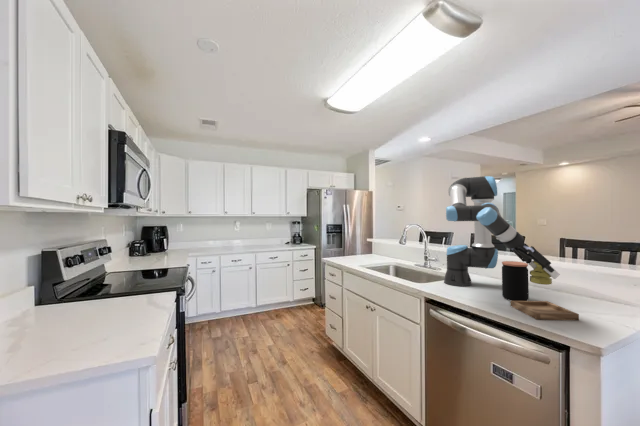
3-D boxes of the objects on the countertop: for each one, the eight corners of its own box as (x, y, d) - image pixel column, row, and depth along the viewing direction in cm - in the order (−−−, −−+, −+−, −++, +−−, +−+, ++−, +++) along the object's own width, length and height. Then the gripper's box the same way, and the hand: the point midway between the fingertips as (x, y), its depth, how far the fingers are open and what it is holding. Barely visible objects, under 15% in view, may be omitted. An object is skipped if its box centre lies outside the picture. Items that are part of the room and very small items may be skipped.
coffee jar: (519, 295, 137) (519, 261, 138) (534, 302, 127) (533, 264, 127) (497, 295, 138) (497, 261, 139) (510, 302, 128) (509, 264, 128)
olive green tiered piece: (529, 279, 119) (529, 257, 119) (551, 282, 114) (551, 259, 114) (529, 283, 113) (529, 259, 113) (552, 285, 109) (552, 261, 109)
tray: (510, 306, 122) (510, 300, 122) (547, 306, 121) (547, 301, 121) (536, 319, 106) (536, 313, 106) (578, 320, 105) (578, 314, 105)
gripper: (489, 240, 125) (526, 275, 124) (518, 245, 105) (562, 286, 104) (501, 229, 125) (538, 264, 123) (532, 232, 105) (576, 273, 103)
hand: (549, 274), depth 114 cm, fingers closed on olive green tiered piece, 7 cm apart
